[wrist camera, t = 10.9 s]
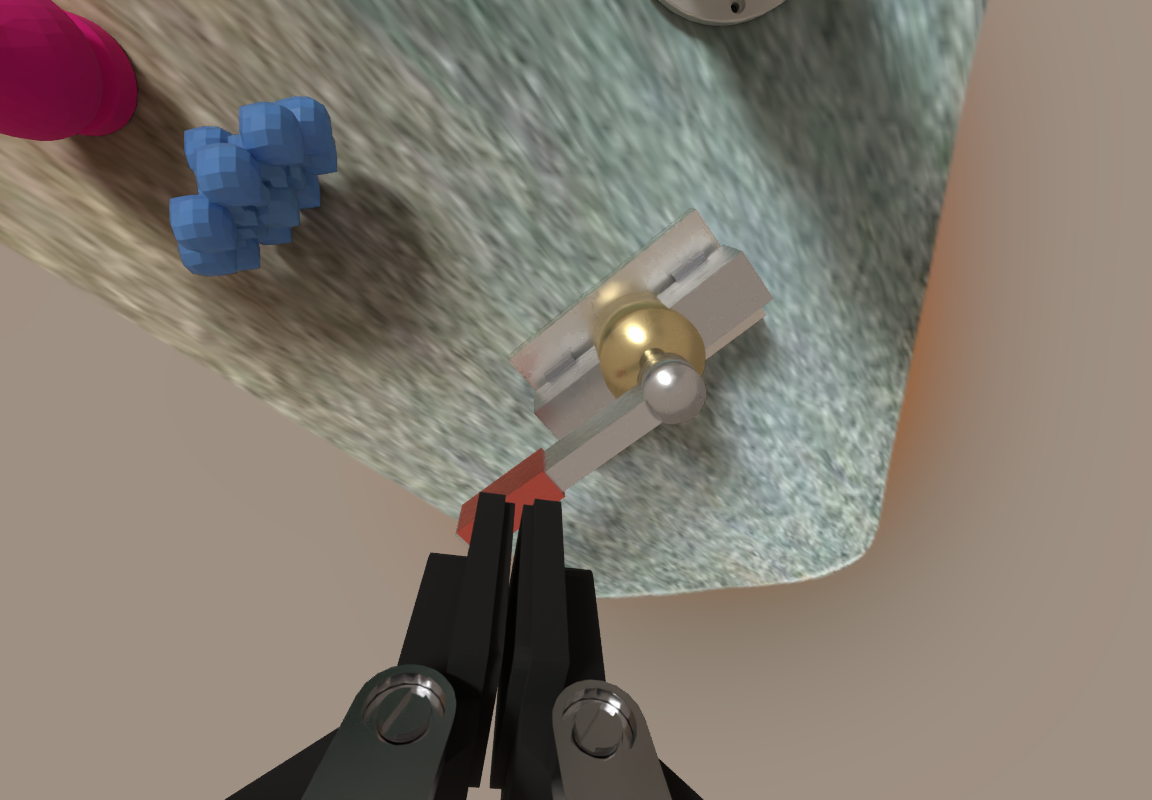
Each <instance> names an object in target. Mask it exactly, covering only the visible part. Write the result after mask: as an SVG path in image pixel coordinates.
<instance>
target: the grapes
mask: <svg viewBox="0 0 1152 800" xmlns="http://www.w3.org/2000/svg"><path fill="white" fill-rule="evenodd" d="M239 132H240V134H236V135H232V134H231V133H230V132H228V131H226V130H224V129H222V128H220V127H211V126H203V127H198V128H194V129H190V130H185V133H184V153H185V156H186V159H187V162H188V166H189V167H190V169H191V170H192V171H193V172H194V174H195V177H196V180H197V183H198V195H186V196H180V197H175V198H171V199H170V207H169V212H170V224H171V227H172V230H173V233H174V236H175V238H176V240H177V241H178V251H179V254H180V257H181V260H182V262H183V265H184V266H185V267H186V268H187V269H188V270H189V271H191V272H192V273H193V274H197V275H202V276H221V275H228V274H233V273H237V271H243V270H252V269H257V268H260V247H259V244H262V245H276V244H284V243H289V242H292V229H291V227H294V226H299V225H300V209H308V208H314V207H319V206H320V186H319V179H318V176H317V175H321V174H328V173H332V172H337V153H336V145H335V140H334V138H333V136H332V127H331V120H330V116H329V114H328V112H327V110H326V108H325V107H324V105H322V104H320V103H319V102H317V101H315V100H314V99H312V98H310V97H302V96H294V97H290V98H286V99H281V100H277V101H275V102H258V103H253V104H249V105H245V106H241V107H239Z"/></svg>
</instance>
